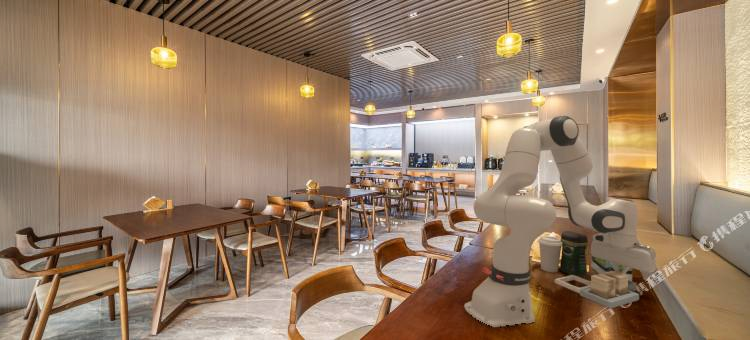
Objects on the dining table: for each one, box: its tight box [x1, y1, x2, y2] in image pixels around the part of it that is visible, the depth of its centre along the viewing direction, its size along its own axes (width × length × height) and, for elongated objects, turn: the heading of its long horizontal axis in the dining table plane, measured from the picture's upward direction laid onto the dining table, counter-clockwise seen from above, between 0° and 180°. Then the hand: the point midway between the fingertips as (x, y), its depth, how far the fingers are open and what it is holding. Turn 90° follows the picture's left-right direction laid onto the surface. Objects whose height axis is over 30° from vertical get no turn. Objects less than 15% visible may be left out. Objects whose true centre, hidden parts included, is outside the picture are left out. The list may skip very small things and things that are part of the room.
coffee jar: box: [559, 230, 589, 277], centre depth 129 cm, size 10×8×19 cm
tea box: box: [591, 238, 634, 282], centre depth 128 cm, size 15×10×15 cm
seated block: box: [590, 273, 616, 300], centre depth 104 cm, size 5×5×8 cm
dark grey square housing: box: [628, 280, 637, 293], centre depth 113 cm, size 7×7×4 cm
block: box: [604, 271, 628, 296], centre depth 107 cm, size 5×5×8 cm
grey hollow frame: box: [579, 287, 640, 309], centre depth 105 cm, size 16×10×3 cm, turn 112°
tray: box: [554, 274, 591, 294], centre depth 115 cm, size 11×10×2 cm
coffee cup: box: [537, 235, 563, 273], centre depth 132 cm, size 10×10×15 cm
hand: (620, 275), depth 113 cm, fingers closed
